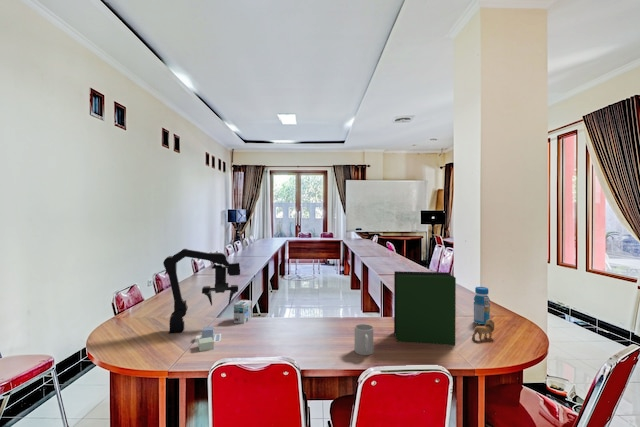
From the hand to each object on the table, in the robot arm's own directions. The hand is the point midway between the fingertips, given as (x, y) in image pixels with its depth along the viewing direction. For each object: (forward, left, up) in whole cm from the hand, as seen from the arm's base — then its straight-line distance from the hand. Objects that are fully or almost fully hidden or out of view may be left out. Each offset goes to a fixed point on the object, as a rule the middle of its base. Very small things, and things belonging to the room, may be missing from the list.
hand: (220, 304), depth 183 cm
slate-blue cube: (-5, -17, -12) cm, 21 cm away
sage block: (-5, -29, -12) cm, 31 cm away
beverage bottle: (+144, -27, -12) cm, 147 cm away
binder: (+99, -40, -12) cm, 108 cm away
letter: (-5, -17, -12) cm, 21 cm away
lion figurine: (+128, -48, -12) cm, 137 cm away
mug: (+64, -50, -12) cm, 82 cm away
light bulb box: (+12, +8, -12) cm, 19 cm away
